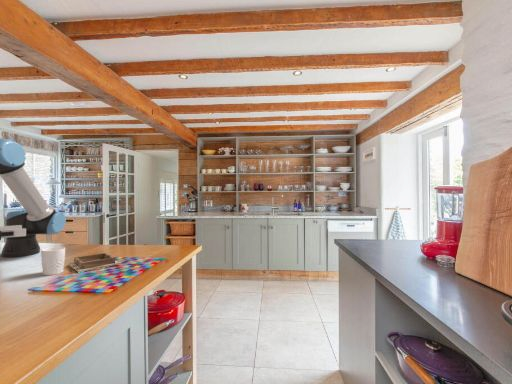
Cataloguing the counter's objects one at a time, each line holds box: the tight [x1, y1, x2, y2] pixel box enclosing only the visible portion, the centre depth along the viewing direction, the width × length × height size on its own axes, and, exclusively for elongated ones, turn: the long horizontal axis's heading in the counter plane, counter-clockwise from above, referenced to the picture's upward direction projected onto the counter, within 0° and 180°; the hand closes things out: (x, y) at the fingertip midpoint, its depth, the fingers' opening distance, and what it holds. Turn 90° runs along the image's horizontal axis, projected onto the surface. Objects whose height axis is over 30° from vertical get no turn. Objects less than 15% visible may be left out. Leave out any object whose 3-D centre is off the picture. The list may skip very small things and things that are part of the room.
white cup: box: [40, 246, 66, 276], centre depth 106 cm, size 8×8×10 cm
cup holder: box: [68, 252, 121, 273], centre depth 117 cm, size 16×16×4 cm
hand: (23, 230), depth 100 cm, fingers open, 13 cm apart
